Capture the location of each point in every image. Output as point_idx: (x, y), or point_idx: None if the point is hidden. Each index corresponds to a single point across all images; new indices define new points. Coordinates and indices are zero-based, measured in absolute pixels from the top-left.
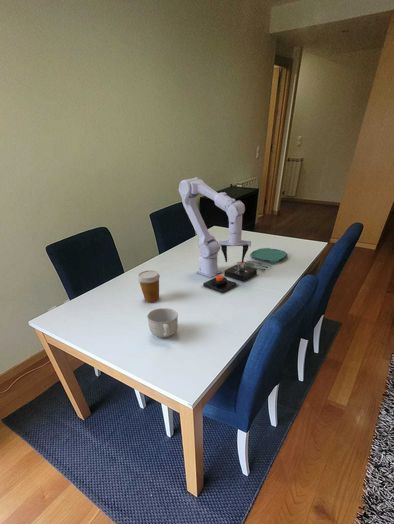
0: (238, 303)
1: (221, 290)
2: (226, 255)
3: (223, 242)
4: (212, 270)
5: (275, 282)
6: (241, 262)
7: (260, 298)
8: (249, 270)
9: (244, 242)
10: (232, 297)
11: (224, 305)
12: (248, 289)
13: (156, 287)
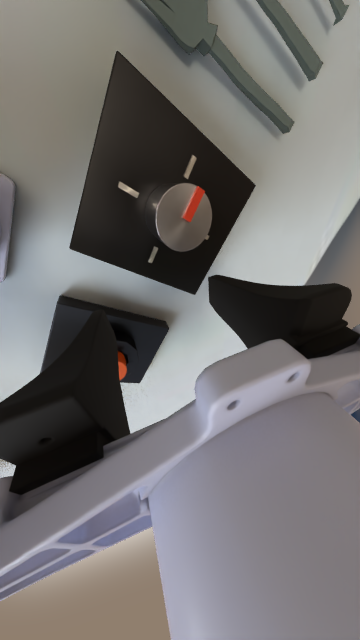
0: (187, 388)
1: (134, 381)
2: (119, 382)
3: (61, 549)
4: None
5: (286, 253)
6: (190, 222)
7: (232, 354)
8: (217, 216)
9: (346, 396)
10: (169, 376)
11: (160, 406)
12: (205, 326)
13: None
